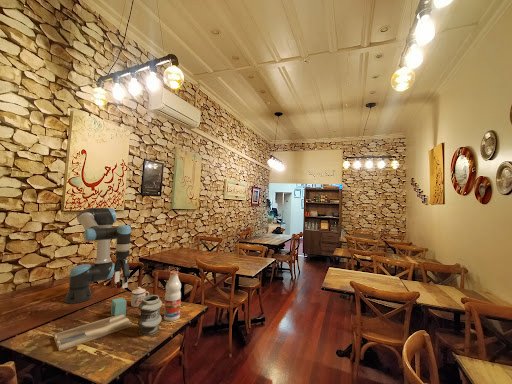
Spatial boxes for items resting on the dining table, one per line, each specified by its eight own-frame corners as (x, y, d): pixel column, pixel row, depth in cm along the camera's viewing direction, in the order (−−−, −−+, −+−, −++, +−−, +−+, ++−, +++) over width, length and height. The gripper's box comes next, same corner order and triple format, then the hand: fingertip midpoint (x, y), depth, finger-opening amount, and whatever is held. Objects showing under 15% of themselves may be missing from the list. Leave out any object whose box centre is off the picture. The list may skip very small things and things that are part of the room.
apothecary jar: (136, 339, 121) (138, 303, 122) (137, 327, 132) (139, 294, 133) (161, 334, 126) (163, 300, 127) (160, 323, 137) (162, 292, 138)
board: (53, 337, 120) (54, 327, 120) (122, 316, 143) (122, 308, 143) (58, 351, 109) (59, 340, 110) (131, 326, 133) (132, 317, 133)
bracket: (110, 314, 146) (111, 299, 146) (121, 311, 150) (122, 297, 150) (114, 318, 140) (115, 303, 141) (125, 315, 145) (126, 300, 145)
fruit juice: (178, 313, 150) (181, 269, 152) (180, 320, 142) (183, 273, 143) (163, 315, 146) (165, 270, 148) (164, 322, 138) (166, 274, 139)
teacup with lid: (134, 308, 154) (135, 290, 155) (128, 304, 160) (129, 287, 161) (151, 303, 164) (152, 286, 164) (145, 299, 169) (146, 282, 170)
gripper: (109, 247, 152) (107, 281, 151) (123, 254, 135) (121, 292, 134) (122, 246, 158) (120, 278, 157) (137, 252, 141) (135, 288, 140)
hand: (120, 284), depth 146 cm, fingers open, 13 cm apart
